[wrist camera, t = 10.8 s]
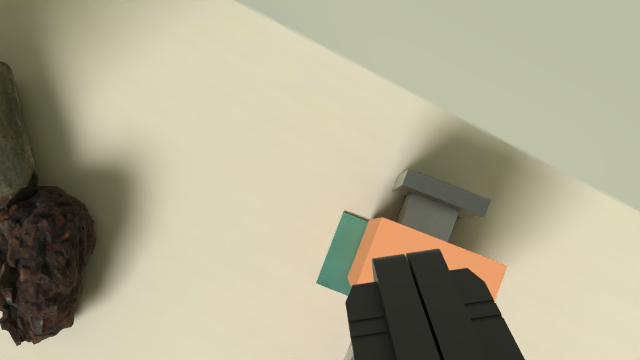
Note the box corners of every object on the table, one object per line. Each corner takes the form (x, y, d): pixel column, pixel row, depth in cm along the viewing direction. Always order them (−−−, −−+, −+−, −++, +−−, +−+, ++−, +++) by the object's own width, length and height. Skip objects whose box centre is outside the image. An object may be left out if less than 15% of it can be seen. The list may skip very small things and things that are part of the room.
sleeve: (442, 315, 35) (479, 342, 27) (347, 277, 35) (353, 292, 27) (464, 256, 35) (507, 265, 27) (369, 219, 36) (382, 217, 27)
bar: (397, 512, 35) (408, 560, 30) (250, 451, 35) (238, 488, 30) (503, 217, 36) (531, 215, 31) (362, 163, 37) (367, 153, 32)
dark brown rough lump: (-41, 96, 38) (-105, 72, 32) (52, 64, 38) (5, 35, 32) (31, 343, 36) (-23, 364, 30) (128, 309, 36) (92, 323, 31)
